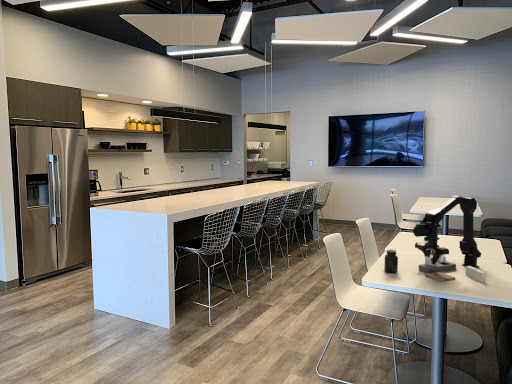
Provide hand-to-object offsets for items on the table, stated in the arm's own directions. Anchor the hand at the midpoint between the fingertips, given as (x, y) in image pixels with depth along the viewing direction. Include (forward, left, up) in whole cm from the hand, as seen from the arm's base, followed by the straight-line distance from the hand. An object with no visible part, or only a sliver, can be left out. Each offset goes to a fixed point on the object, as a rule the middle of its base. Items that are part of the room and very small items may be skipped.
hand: (430, 263), depth 208 cm
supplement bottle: (+22, -6, -4) cm, 23 cm away
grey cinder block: (-5, 0, -4) cm, 6 cm away
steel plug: (0, 0, -4) cm, 4 cm away
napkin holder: (-10, +19, -5) cm, 22 cm away
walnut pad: (+5, +11, -4) cm, 13 cm away
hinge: (-20, -14, -4) cm, 25 cm away
